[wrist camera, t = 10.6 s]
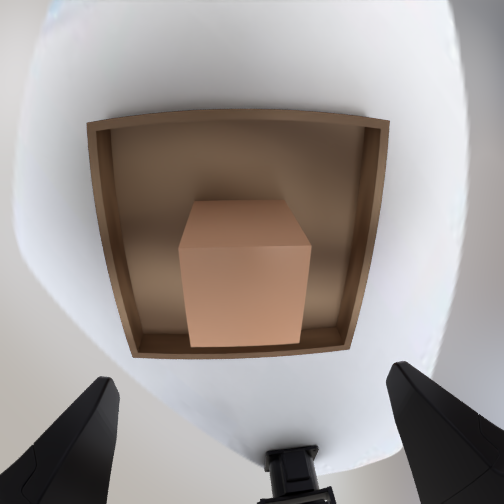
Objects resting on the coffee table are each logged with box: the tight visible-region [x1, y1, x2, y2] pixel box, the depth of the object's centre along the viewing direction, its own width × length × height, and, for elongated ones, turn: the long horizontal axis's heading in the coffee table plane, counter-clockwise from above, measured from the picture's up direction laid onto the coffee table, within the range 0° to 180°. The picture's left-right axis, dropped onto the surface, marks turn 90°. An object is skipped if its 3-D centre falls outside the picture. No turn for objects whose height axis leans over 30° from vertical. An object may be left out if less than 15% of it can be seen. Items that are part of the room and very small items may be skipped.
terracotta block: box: [178, 200, 312, 347], centre depth 15 cm, size 5×5×6 cm
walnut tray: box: [87, 109, 390, 359], centre depth 17 cm, size 15×15×2 cm
